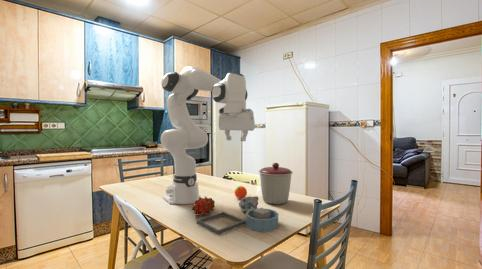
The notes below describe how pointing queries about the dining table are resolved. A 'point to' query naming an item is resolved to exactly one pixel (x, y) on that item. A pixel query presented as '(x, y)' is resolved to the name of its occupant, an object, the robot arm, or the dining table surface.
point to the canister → (275, 184)
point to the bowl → (262, 221)
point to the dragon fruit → (203, 206)
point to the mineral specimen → (248, 203)
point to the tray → (219, 231)
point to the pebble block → (261, 213)
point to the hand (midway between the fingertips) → (235, 140)
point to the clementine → (240, 192)
